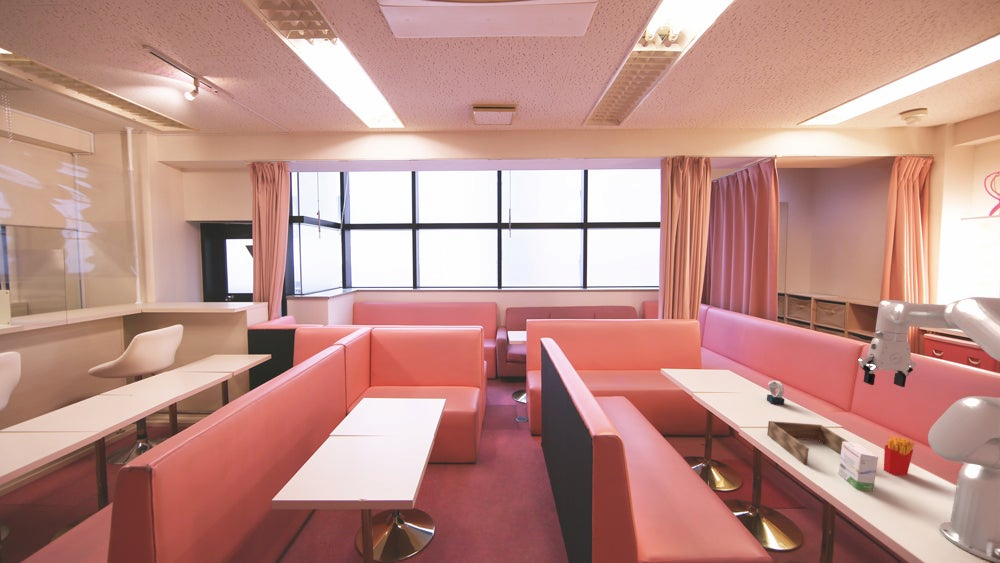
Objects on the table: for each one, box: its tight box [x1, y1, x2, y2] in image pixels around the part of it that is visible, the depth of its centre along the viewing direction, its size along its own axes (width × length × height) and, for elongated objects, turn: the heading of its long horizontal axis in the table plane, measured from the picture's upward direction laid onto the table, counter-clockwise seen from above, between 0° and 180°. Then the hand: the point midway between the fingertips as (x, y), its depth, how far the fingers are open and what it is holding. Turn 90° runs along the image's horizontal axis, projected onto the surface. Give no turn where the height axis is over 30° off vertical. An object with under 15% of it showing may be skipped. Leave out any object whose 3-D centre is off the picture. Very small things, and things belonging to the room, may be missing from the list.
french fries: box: [883, 436, 915, 476], centre depth 124 cm, size 8×4×12 cm, turn 92°
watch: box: [766, 380, 786, 406], centre depth 179 cm, size 6×8×11 cm
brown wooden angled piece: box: [766, 420, 849, 465], centre depth 136 cm, size 20×20×6 cm
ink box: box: [837, 441, 879, 492], centre depth 117 cm, size 8×5×12 cm, turn 168°
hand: (883, 384), depth 124 cm, fingers open, 9 cm apart
